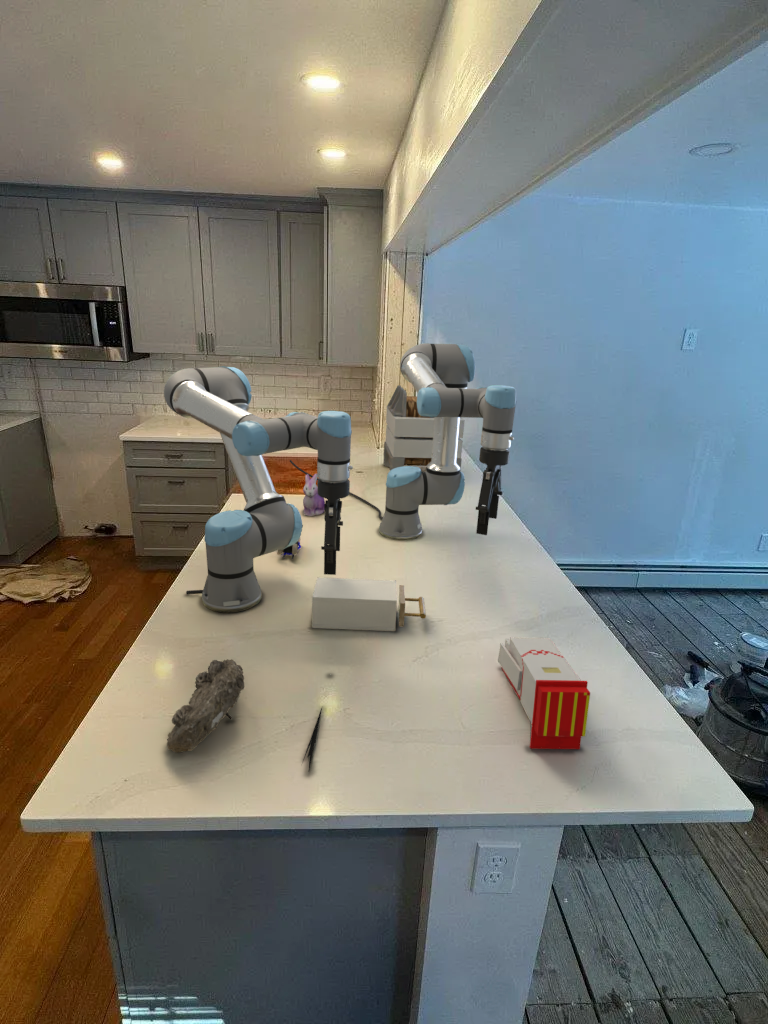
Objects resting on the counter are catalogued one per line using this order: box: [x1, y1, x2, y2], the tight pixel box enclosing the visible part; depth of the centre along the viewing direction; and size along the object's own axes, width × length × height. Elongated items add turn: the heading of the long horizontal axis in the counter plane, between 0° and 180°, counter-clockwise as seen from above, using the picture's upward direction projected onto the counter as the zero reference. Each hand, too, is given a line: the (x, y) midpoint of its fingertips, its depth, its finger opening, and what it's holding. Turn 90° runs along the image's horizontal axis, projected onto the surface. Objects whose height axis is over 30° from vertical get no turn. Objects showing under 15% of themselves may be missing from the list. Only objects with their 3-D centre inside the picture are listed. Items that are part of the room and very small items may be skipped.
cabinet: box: [311, 576, 398, 632], centre depth 143 cm, size 20×11×8 cm, turn 90°
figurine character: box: [276, 524, 304, 560], centre depth 180 cm, size 7×8×15 cm
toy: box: [497, 636, 591, 750], centre depth 115 cm, size 12×13×30 cm
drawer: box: [397, 584, 427, 628], centre depth 143 cm, size 24×10×6 cm, turn 90°
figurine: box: [302, 473, 326, 517], centre depth 214 cm, size 9×10×15 cm
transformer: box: [383, 384, 465, 472], centre depth 268 cm, size 34×33×41 cm
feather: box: [301, 673, 332, 771], centre depth 108 cm, size 2×28×2 cm
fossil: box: [166, 658, 245, 754], centre depth 106 cm, size 22×10×15 cm
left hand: (332, 561), depth 139 cm, fingers open, 13 cm apart
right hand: (486, 525), depth 152 cm, fingers open, 13 cm apart
